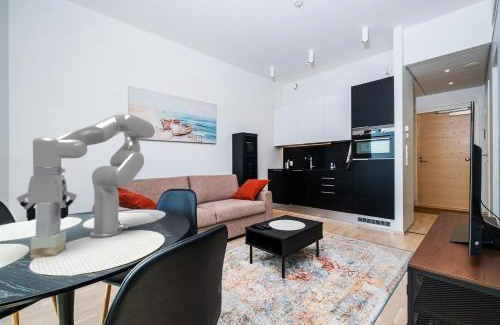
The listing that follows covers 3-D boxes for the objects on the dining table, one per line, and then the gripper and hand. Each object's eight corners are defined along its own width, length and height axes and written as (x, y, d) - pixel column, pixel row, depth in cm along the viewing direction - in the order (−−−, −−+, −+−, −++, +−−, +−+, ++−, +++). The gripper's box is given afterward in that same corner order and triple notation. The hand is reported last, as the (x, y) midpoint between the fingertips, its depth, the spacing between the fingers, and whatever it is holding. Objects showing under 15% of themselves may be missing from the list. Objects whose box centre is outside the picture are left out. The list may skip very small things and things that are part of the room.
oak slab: (65, 249, 84) (65, 240, 84) (55, 256, 77) (55, 246, 77) (43, 251, 82) (43, 241, 82) (30, 258, 75) (30, 248, 75)
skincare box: (47, 232, 82) (49, 200, 82) (60, 232, 82) (62, 200, 83) (34, 237, 76) (36, 203, 76) (47, 237, 76) (49, 203, 77)
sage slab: (66, 240, 84) (66, 231, 84) (55, 247, 77) (55, 237, 77) (44, 241, 82) (44, 232, 82) (30, 248, 75) (30, 238, 75)
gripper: (80, 171, 85) (80, 214, 85) (25, 171, 80) (25, 218, 80) (70, 172, 78) (71, 219, 78) (9, 173, 73) (10, 223, 73)
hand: (48, 218), depth 79 cm, fingers open, 9 cm apart
